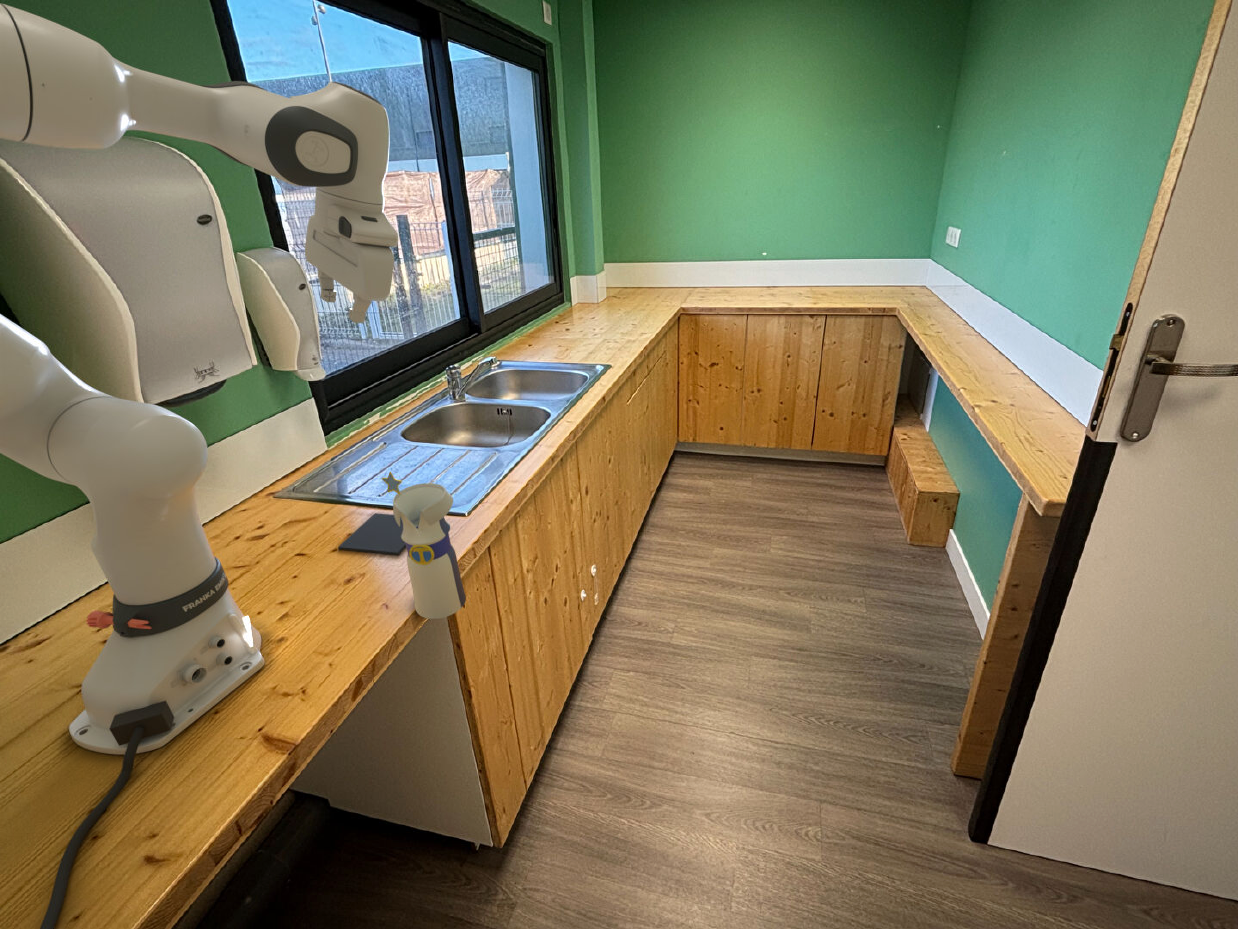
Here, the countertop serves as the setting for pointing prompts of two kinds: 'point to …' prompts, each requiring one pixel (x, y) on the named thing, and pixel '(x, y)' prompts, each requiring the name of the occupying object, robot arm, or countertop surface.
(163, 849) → the countertop surface
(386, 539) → the mat
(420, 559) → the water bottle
